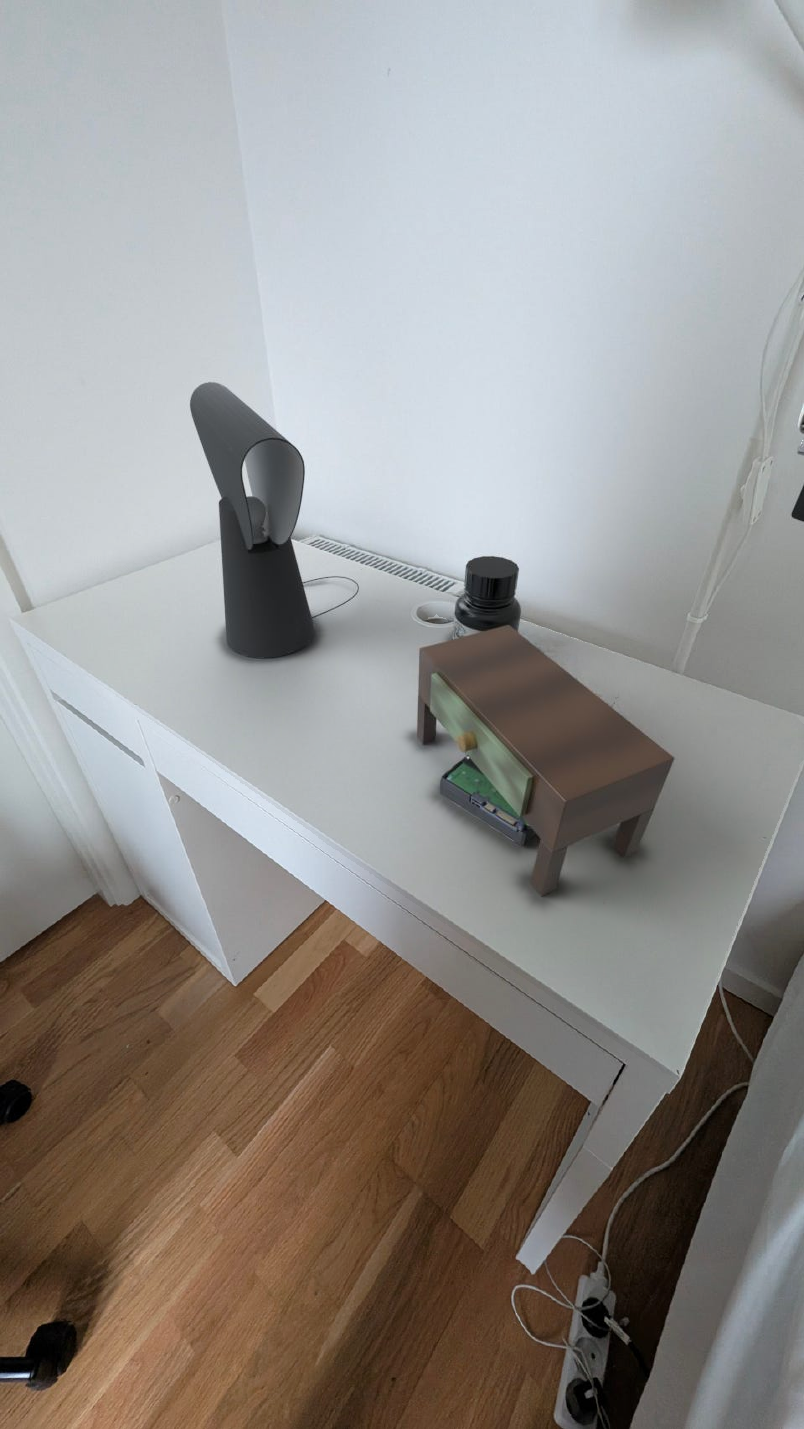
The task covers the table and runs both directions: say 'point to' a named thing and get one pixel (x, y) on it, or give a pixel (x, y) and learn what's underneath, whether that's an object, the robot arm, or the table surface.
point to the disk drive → (483, 800)
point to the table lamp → (255, 525)
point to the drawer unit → (541, 743)
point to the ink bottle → (487, 597)
